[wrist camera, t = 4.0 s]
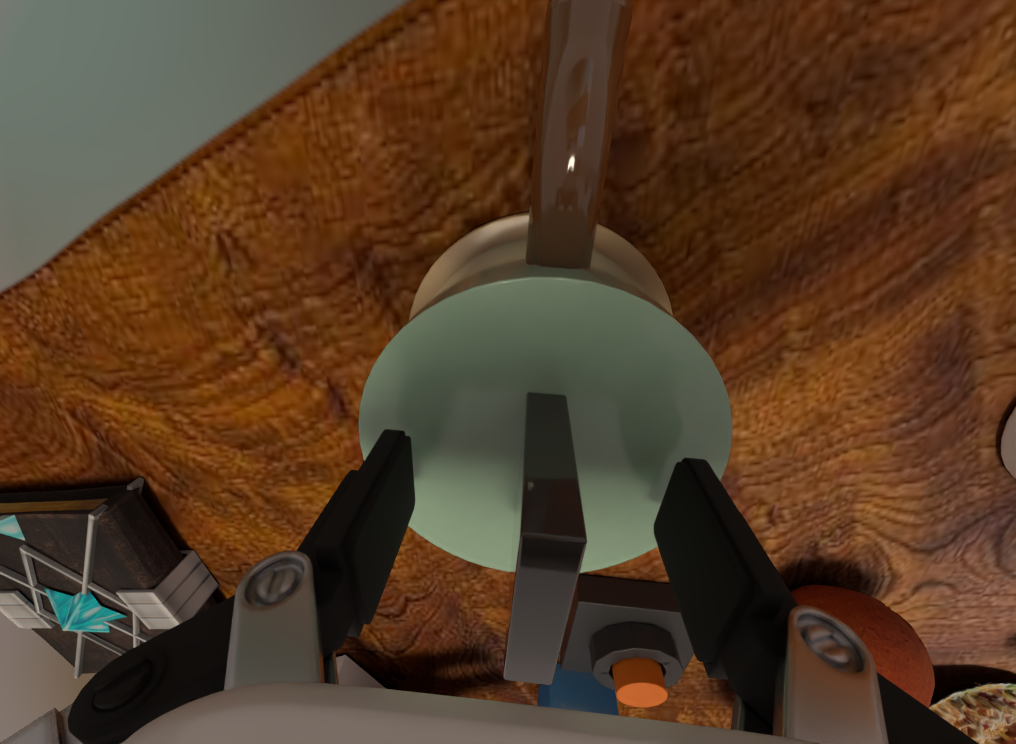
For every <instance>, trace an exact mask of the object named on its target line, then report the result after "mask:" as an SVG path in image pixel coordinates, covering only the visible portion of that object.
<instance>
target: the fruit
mask: <svg viewBox="0 0 1016 744" xmlns="http://www.w3.org/2000/svg"><path fill="white" fill-rule="evenodd" d="M790 592H791V594H792V595H793V597H794V599H795V600H796V602H797V603H798V605H799V606H802V605H807V606H812V607H817V608H819V609H821V610H824V611H826V612H828V613H830V614H832V615H833V616H835V617H836V618H838V619H840V620H841V621H842V622H843V623H845V624H846V625H847V626H848V627H849V628H851V629H852V630H853V631H854V632H855V633H856V634H857V635H858V637H859V638H860V639H861V640H862V641H863V642H864V644H865V645H866V647H867V648H868V650H869V651H870V653H871V655H872V658H873V660H874V663H875V666H876V672H878V673H879V674H881V675H882V676H883V677H885V678H886V679H888V680H889V681H891V682H892V683H893V684H895V685H896V686H898V687H899V688H900V689H902V690H903V691H905V692H906V693H908V694H909V695H910V696H912V697H913V698H915V699H916V700H918V701H919V702H920V703H922V704H923V705H925V706H926V707H928V708H929V706H930V702H931V698H932V695H933V691H934V686H935V680H934V670H933V667H932V663H931V660H930V657H929V654H928V652H927V650H926V648H925V646H924V644H923V643H922V641H921V640H920V638H919V636H918V635H917V633H916V632H915V630H914V629H913V628H912V626H911V625H910V624H909V623H908V622H907V621H906V620H904V619H903V618H902V617H901V616H900V615H898V614H897V613H895V612H894V611H892V610H891V609H890V608H889V607H887V606H885V604H884V603H882V602H881V601H879V600H877V599H875V598H873V597H870V596H868V595H865V594H863V593H859V592H856V591H853V590H849V589H845V588H841V587H832V586H825V585H808V586H803V587H800V588H796V589H795V590H793V591H790Z"/></svg>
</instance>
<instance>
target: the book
mask: <svg viewBox="0 0 1016 744" xmlns="http://www.w3.org/2000/svg"><path fill="white" fill-rule="evenodd" d="M143 483H144V479H142V478H140V477H139V478H137V479H136V480H134V481H133V482H132V483H130V484H129V485H120V486H109V487H98V488H87V489H76V490H58V491H38V492H18V493H0V611H1V612H2V613H3V614H4V615H5V616H6V617H8V618H9V619H10V620H11V621H12V622H13V623H15V624H16V625H17V626H18V627H19V628H31V629H32V630H34V631H35V632H36V633H37V634H38V635H40V636H41V637H42V638H43V639H44V640H46V641H47V642H48V643H49V644H50V645H51V646H52V647H53V648H54V649H55V650H56V651H57V652H59V653H60V654H61V655H62V656H63V657H64V658H65V659H66V660H67V661H68V662H69V663H70V664H71V665H73V666H74V667H75V671H74V677H75V678H79V677H80V676H81V675H82V674H83V673H98V672H99V671H100V670H101V669H103V668H104V667H105V666H106V665H107V664H109V663H110V662H111V661H113V660H114V659H116V658H117V657H119V656H121V655H122V654H124V653H125V652H127V651H129V650H131V649H133V648H135V647H137V646H139V645H140V644H142V643H144V642H146V641H148V640H150V639H152V638H154V637H156V636H158V635H160V634H161V633H163V632H165V631H167V630H169V629H171V628H173V627H175V626H177V625H179V624H181V623H182V622H184V621H186V620H188V619H190V618H192V617H194V616H196V615H198V614H200V613H202V612H203V611H205V610H207V609H209V608H211V607H213V606H215V605H217V603H216V602H215V600H214V599H213V597H212V596H211V595H212V593H213V592H214V591H215V590H216V588H217V587H218V586H219V585H218V584H217V582H216V581H215V579H214V578H213V577H212V575H211V574H210V572H209V571H208V570H207V568H206V567H205V565H204V564H203V563H202V561H201V560H200V558H199V557H198V556H197V554H196V553H195V551H194V550H178V548H177V547H176V545H175V544H174V543H173V541H172V540H171V538H170V537H169V535H168V534H167V532H166V531H165V530H164V528H163V527H162V525H161V524H160V522H159V521H158V519H157V518H156V516H155V515H154V513H153V512H152V510H151V509H150V507H149V506H148V504H147V503H146V501H145V500H144V498H143V497H142V496H141V494H142V488H143Z"/></svg>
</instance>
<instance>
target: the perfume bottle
mask: <svg viewBox="0 0 1016 744" xmlns="http://www.w3.org/2000/svg"><path fill="white" fill-rule="evenodd" d="M538 706H541V707H550V708H558V709H567V710H575V711H584V712H592V713H601V714H609V715H617V716H619V713H618V707H617V701H616V694H615V690H612V689H610V688H608V687H606V686H603V685H601V684H600V683H599V682H598V681H597V679H596V678H595V676H594V675H593V674H592V673H585V672H576V671H568V670H561V664H558V663H557V666H556V670H555V674H554V678H553V682H552V684H551V685H545V684H541V685H540V687H539V690H538Z"/></svg>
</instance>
